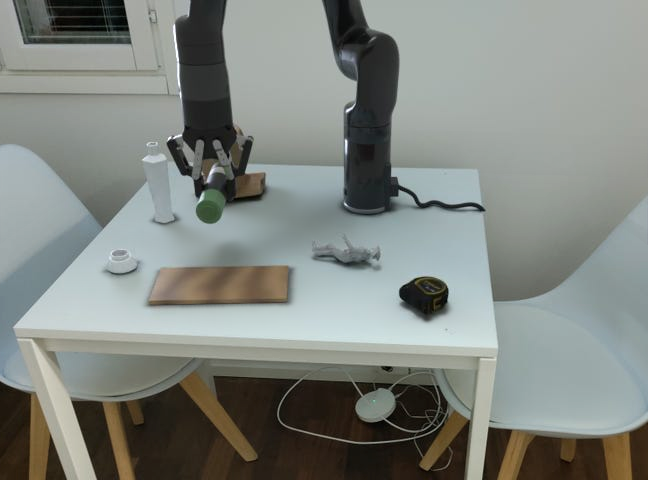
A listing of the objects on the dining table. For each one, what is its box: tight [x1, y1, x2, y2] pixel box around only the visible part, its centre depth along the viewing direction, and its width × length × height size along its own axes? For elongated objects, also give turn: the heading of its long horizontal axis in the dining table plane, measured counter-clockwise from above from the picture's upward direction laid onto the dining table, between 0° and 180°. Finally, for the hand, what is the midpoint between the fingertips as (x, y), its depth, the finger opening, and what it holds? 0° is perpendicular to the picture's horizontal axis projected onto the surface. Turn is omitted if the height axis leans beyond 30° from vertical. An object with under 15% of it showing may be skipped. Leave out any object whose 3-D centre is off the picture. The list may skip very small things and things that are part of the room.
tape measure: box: [398, 275, 450, 316], centre depth 111 cm, size 7×7×4 cm
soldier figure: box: [311, 232, 382, 264], centre depth 123 cm, size 8×5×12 cm
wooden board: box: [148, 265, 290, 306], centre depth 117 cm, size 22×11×1 cm, turn 92°
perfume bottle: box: [141, 141, 176, 224], centre depth 134 cm, size 5×4×15 cm
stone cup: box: [193, 122, 267, 200], centre depth 143 cm, size 15×12×15 cm
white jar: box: [106, 248, 138, 274], centre depth 121 cm, size 5×3×5 cm
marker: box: [195, 162, 228, 225], centre depth 115 cm, size 18×4×4 cm, turn 1°
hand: (216, 198), depth 116 cm, fingers closed on marker, 4 cm apart
